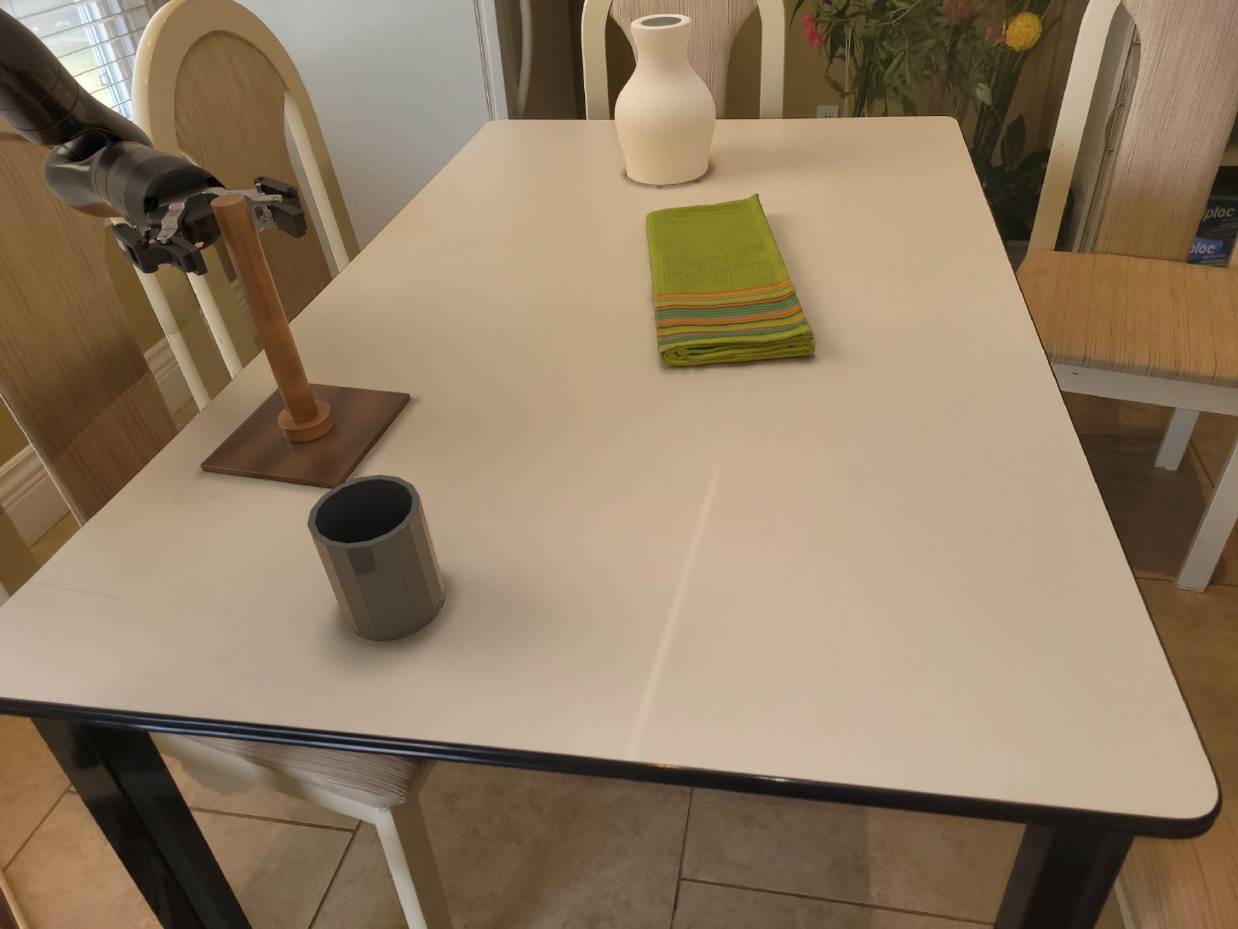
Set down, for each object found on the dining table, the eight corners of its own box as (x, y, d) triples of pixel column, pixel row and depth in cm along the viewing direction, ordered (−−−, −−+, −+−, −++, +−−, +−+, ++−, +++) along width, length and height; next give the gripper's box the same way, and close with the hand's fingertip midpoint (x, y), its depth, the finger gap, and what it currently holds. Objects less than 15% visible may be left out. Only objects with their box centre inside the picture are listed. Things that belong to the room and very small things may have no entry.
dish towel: (660, 371, 87) (658, 342, 85) (643, 223, 115) (642, 199, 113) (817, 359, 87) (819, 330, 85) (762, 213, 115) (763, 189, 113)
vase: (696, 146, 137) (694, 2, 124) (730, 177, 126) (731, 23, 113) (607, 161, 134) (595, 16, 122) (633, 194, 123) (623, 39, 111)
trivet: (201, 470, 80) (199, 465, 80) (287, 385, 90) (285, 380, 90) (338, 489, 76) (336, 483, 76) (411, 398, 87) (409, 393, 86)
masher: (272, 439, 82) (182, 210, 68) (299, 410, 86) (219, 186, 72) (317, 445, 81) (235, 213, 67) (343, 415, 84) (270, 188, 71)
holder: (324, 631, 64) (286, 539, 58) (373, 559, 69) (343, 469, 64) (417, 648, 62) (387, 555, 56) (460, 573, 67) (437, 481, 62)
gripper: (66, 182, 74) (143, 228, 64) (227, 133, 81) (317, 169, 72) (105, 265, 78) (182, 320, 69) (253, 212, 86) (342, 255, 76)
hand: (251, 243), depth 70 cm, fingers open, 8 cm apart
